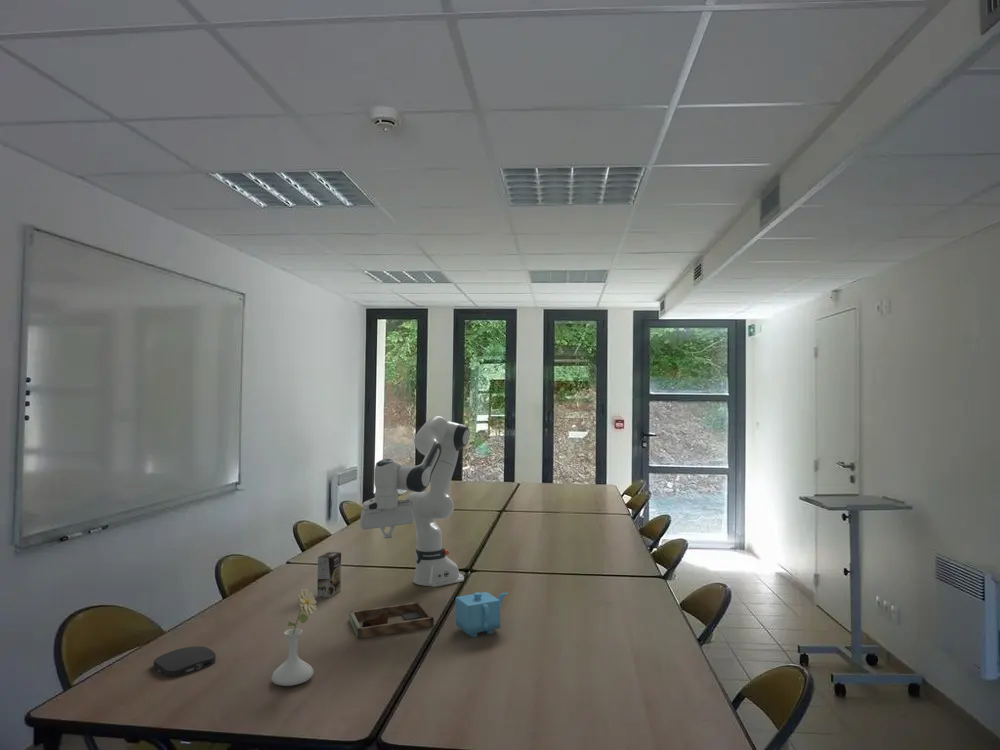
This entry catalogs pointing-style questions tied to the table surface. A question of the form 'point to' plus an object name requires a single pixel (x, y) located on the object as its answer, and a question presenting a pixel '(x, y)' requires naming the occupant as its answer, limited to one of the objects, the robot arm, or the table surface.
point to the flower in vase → (294, 667)
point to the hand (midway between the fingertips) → (387, 537)
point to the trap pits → (411, 616)
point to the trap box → (391, 627)
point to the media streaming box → (184, 661)
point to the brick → (376, 618)
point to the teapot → (478, 613)
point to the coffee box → (329, 574)
